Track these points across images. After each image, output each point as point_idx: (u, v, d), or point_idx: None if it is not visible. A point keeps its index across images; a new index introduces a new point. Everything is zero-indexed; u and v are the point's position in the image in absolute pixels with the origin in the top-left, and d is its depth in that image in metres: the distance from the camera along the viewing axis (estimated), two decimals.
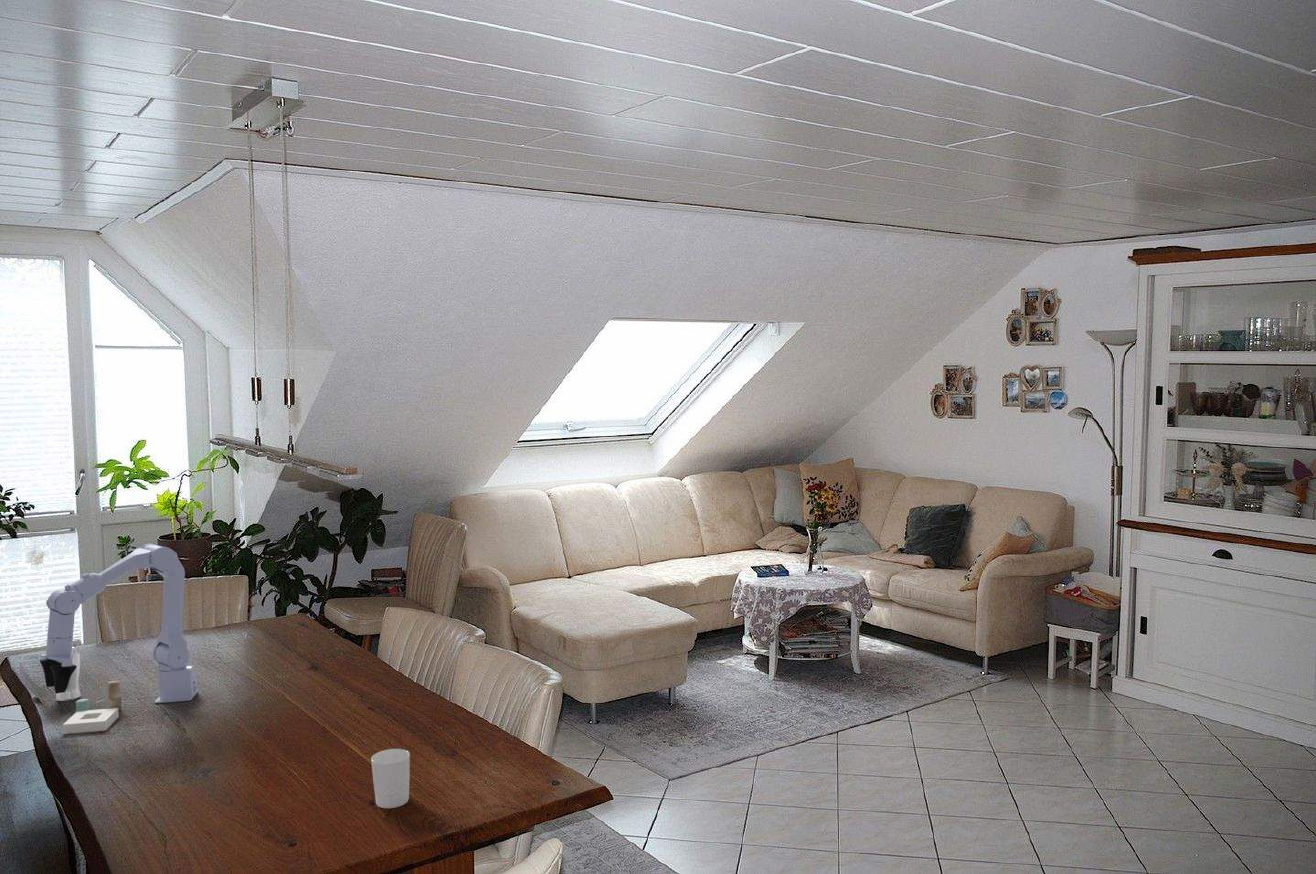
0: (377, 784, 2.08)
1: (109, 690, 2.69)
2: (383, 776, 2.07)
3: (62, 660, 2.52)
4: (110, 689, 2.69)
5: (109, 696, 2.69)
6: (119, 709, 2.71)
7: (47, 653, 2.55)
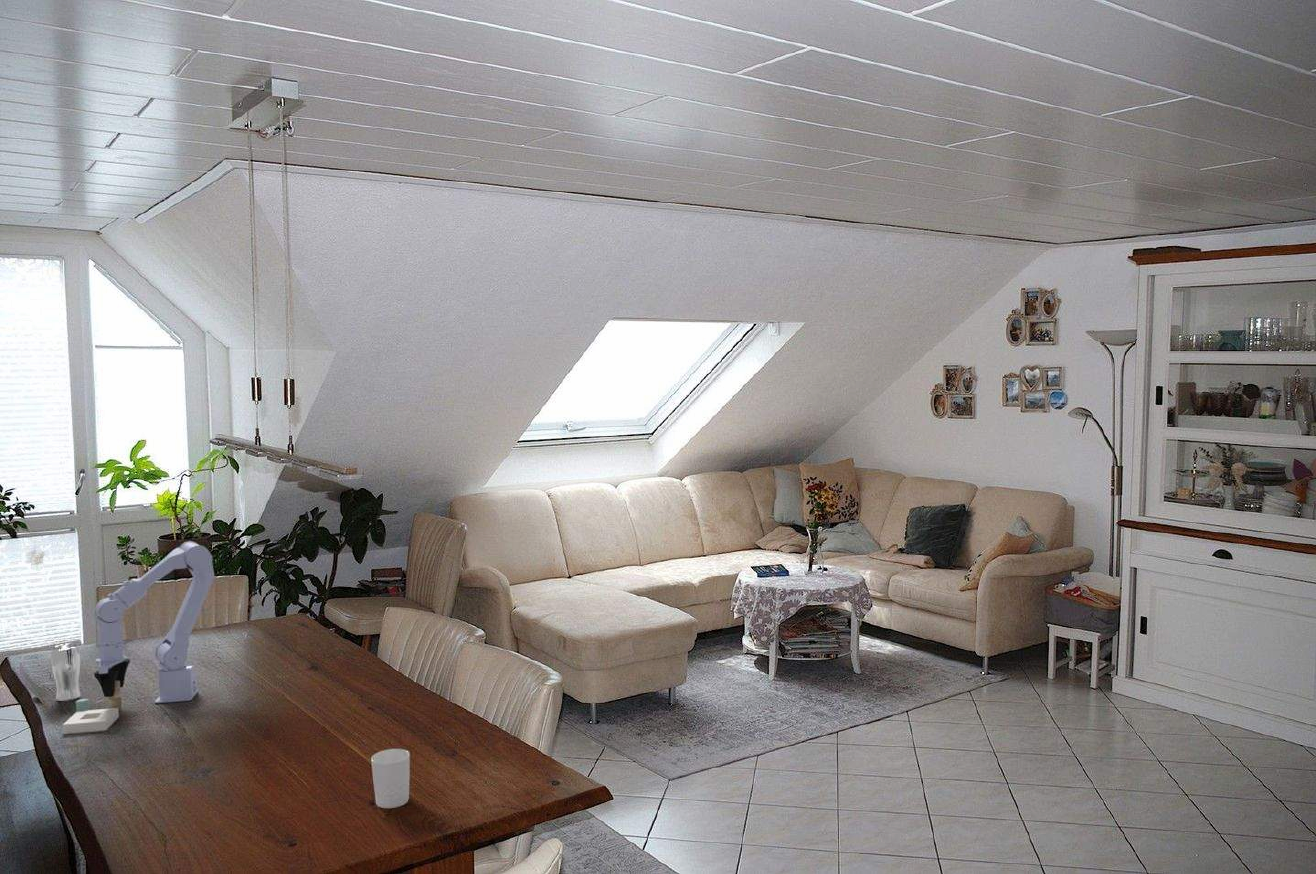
0: (377, 784, 2.08)
1: None
2: (383, 776, 2.07)
3: None
4: None
5: None
6: (119, 709, 2.71)
7: (100, 658, 2.69)
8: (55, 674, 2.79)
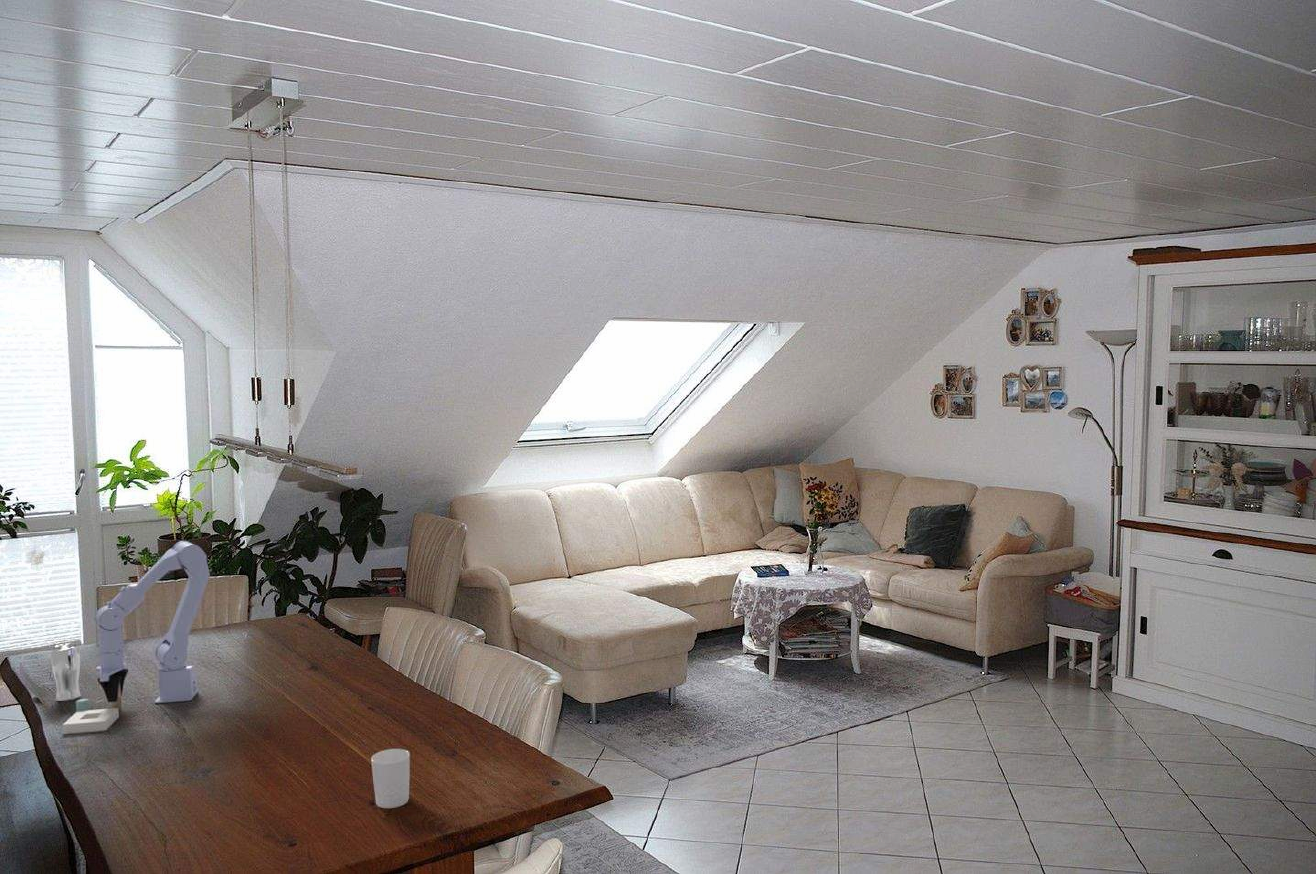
0: (377, 784, 2.08)
1: None
2: (383, 776, 2.07)
3: None
4: None
5: None
6: (119, 709, 2.71)
7: (100, 666, 2.69)
8: (55, 674, 2.79)
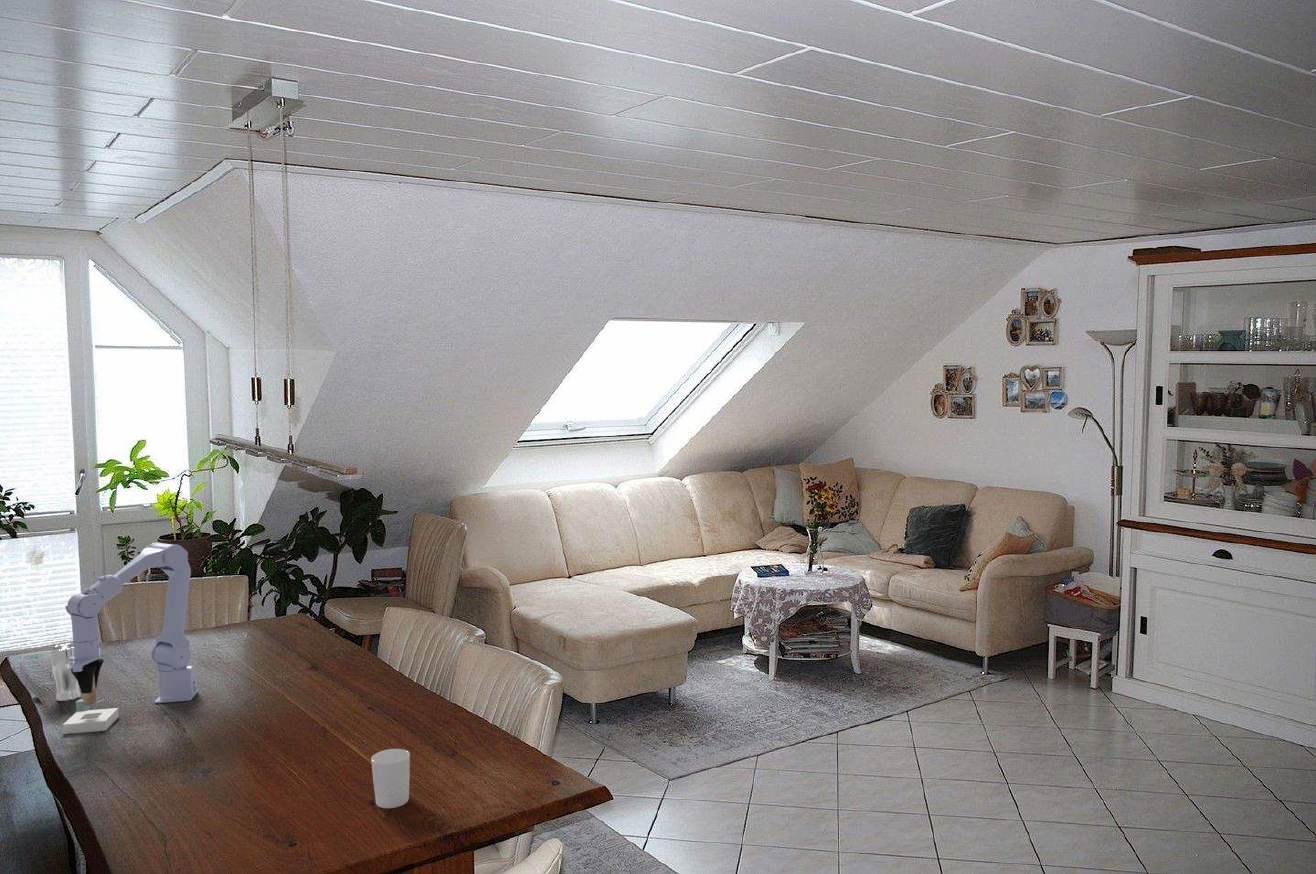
0: (377, 784, 2.08)
1: None
2: (383, 776, 2.07)
3: None
4: None
5: None
6: (93, 701, 2.59)
7: (74, 656, 2.58)
8: (55, 674, 2.79)
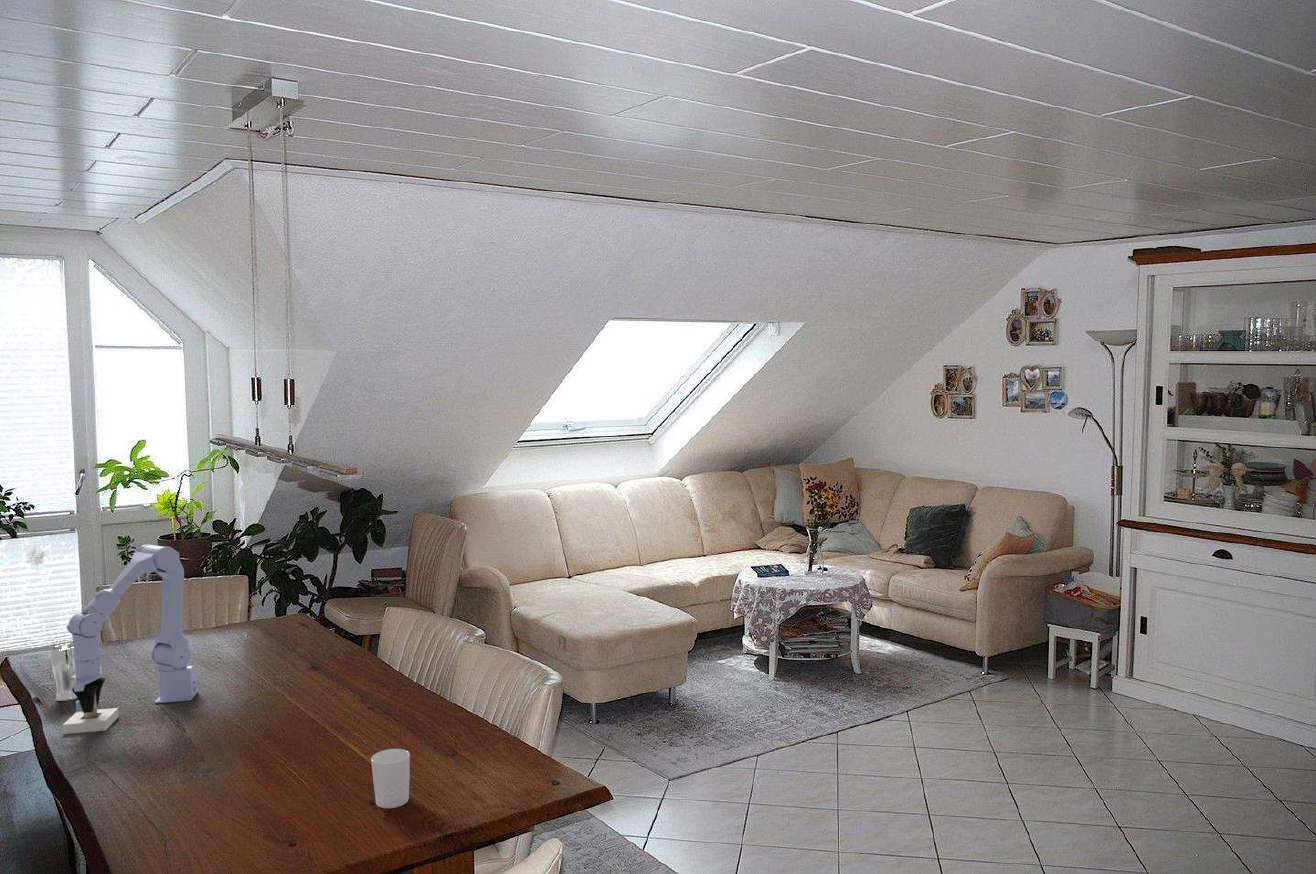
0: (377, 784, 2.08)
1: None
2: (383, 776, 2.07)
3: None
4: None
5: None
6: None
7: (75, 675, 2.58)
8: (55, 674, 2.79)
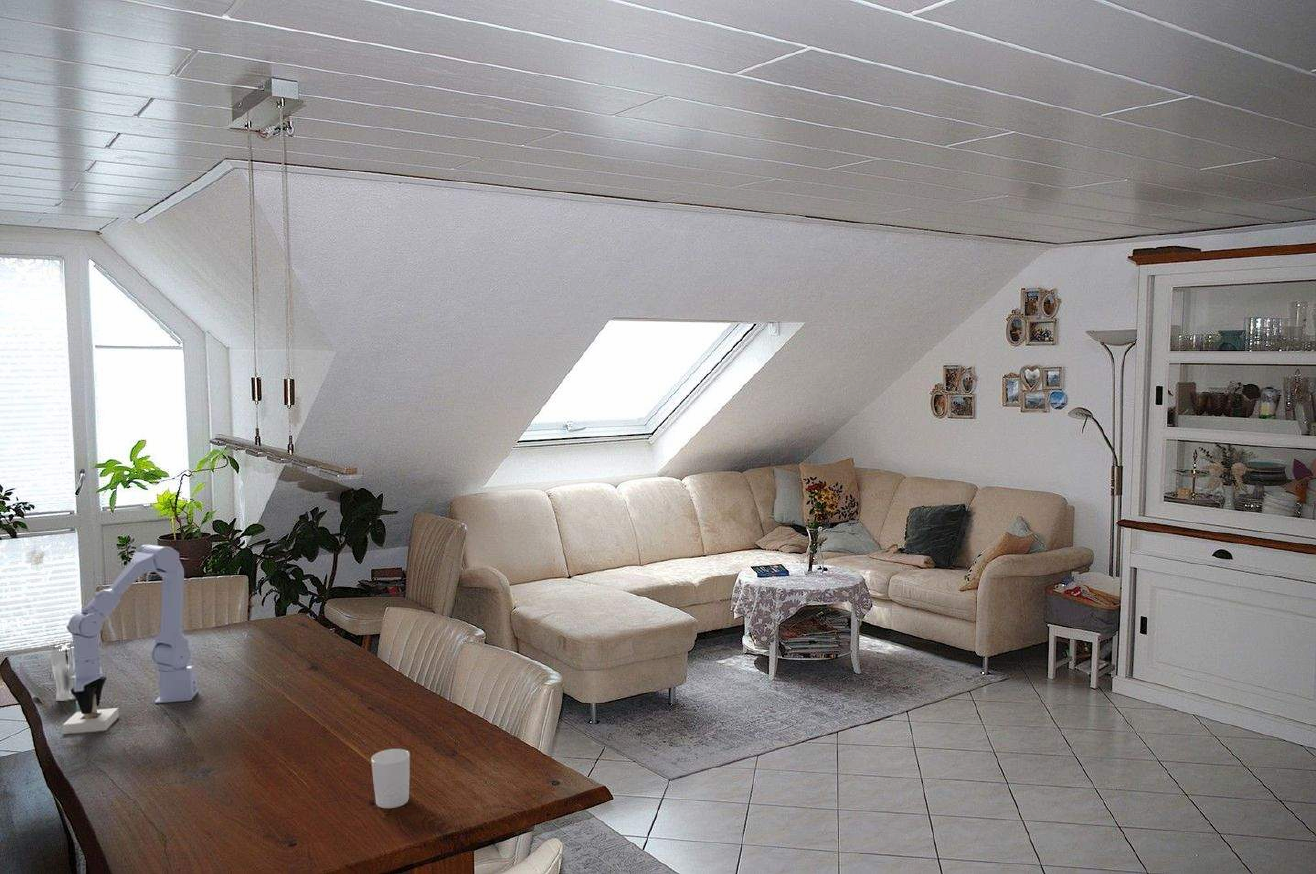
0: (377, 784, 2.08)
1: None
2: (383, 776, 2.07)
3: None
4: None
5: None
6: None
7: (75, 675, 2.58)
8: (55, 674, 2.79)
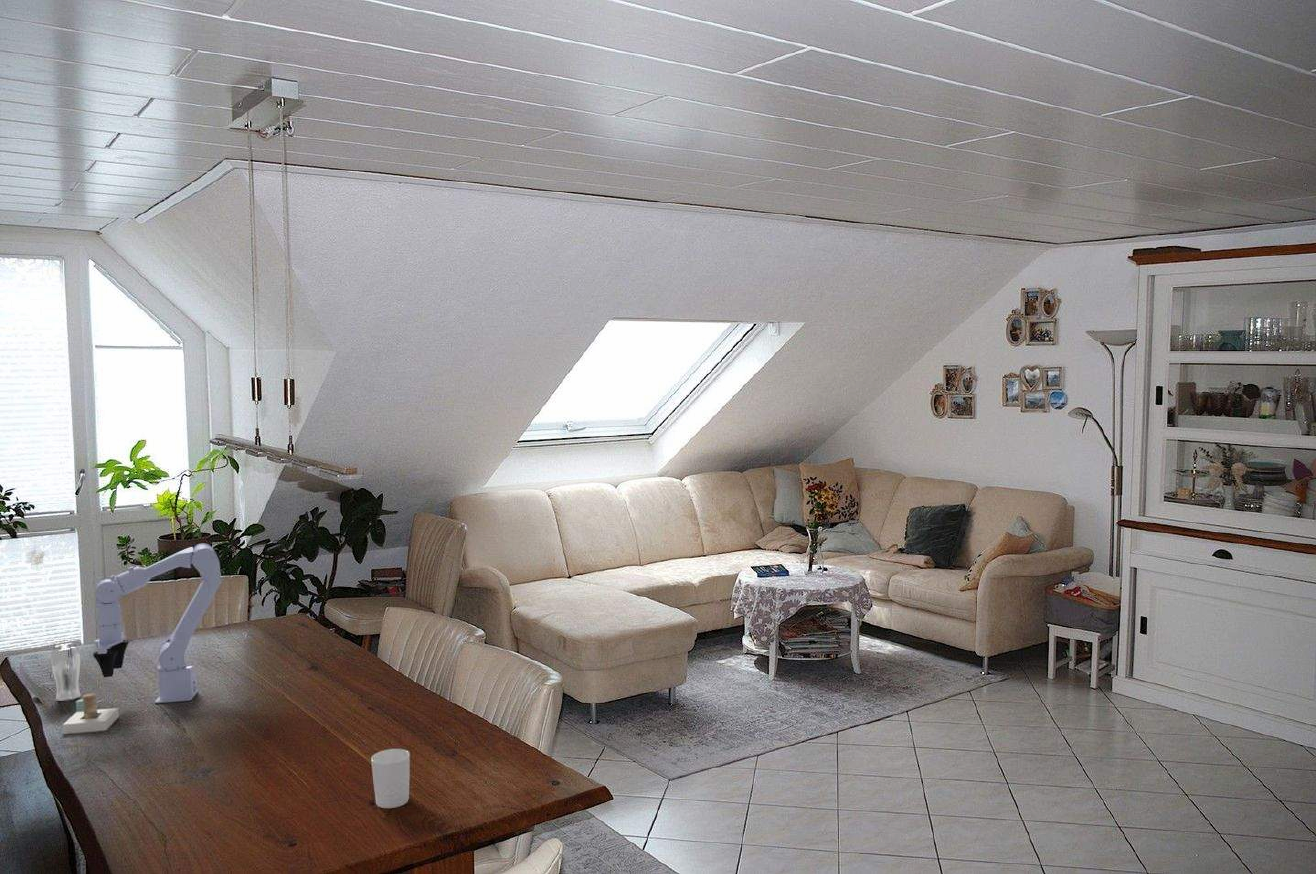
0: (377, 784, 2.08)
1: (84, 704, 2.58)
2: (383, 776, 2.07)
3: None
4: (86, 703, 2.58)
5: (84, 710, 2.59)
6: None
7: (98, 639, 2.71)
8: (55, 674, 2.79)
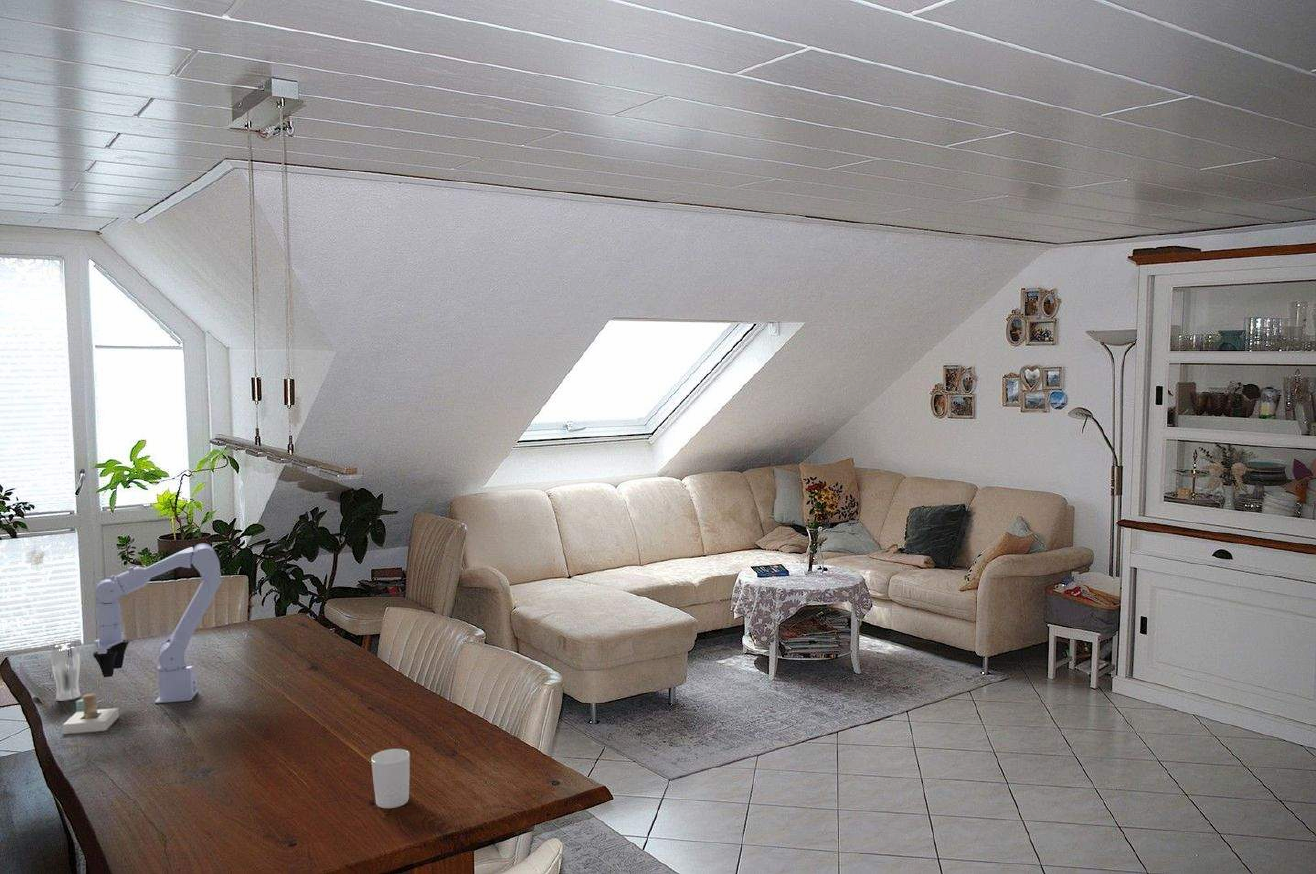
0: (377, 784, 2.08)
1: (84, 704, 2.58)
2: (383, 776, 2.07)
3: None
4: (86, 703, 2.58)
5: (84, 710, 2.59)
6: None
7: (98, 639, 2.71)
8: (55, 674, 2.79)
